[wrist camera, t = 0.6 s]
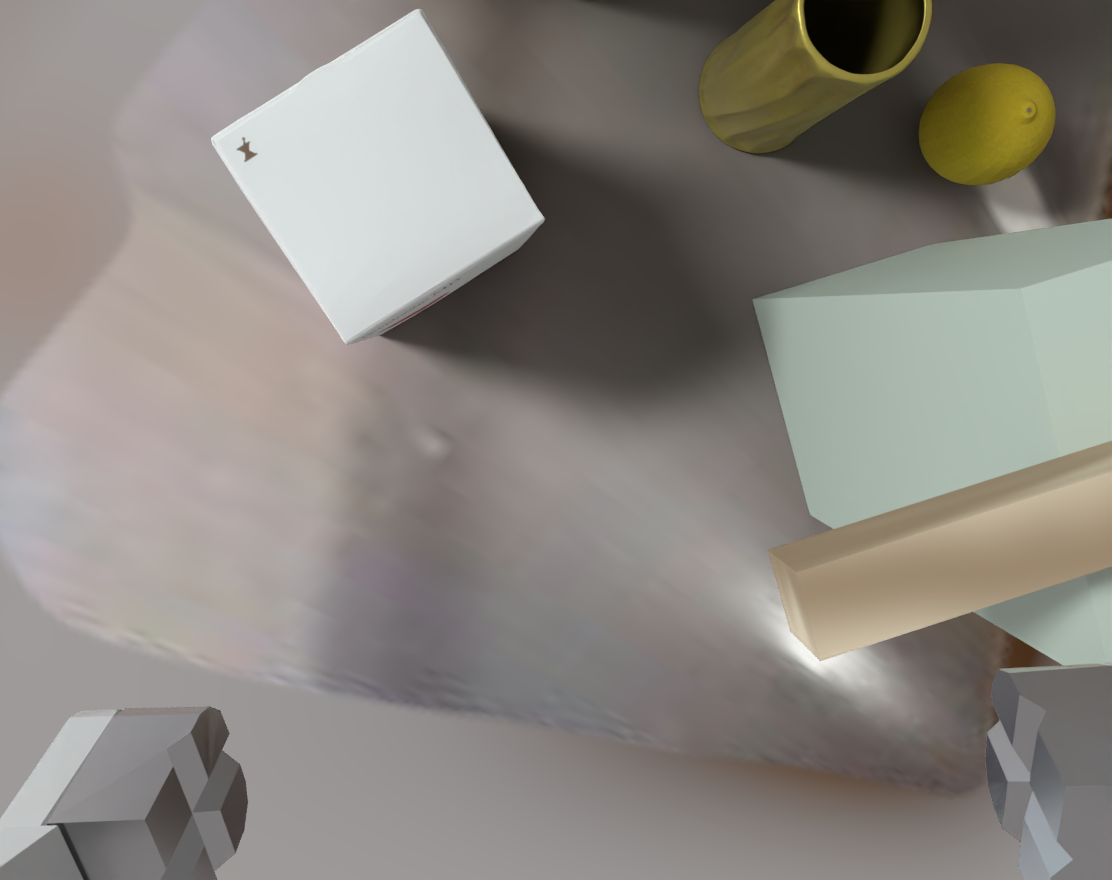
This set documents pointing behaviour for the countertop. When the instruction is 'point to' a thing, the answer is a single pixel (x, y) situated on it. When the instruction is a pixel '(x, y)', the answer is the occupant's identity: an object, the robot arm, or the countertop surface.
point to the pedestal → (954, 389)
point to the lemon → (986, 124)
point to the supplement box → (381, 180)
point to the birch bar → (948, 554)
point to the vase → (805, 65)
